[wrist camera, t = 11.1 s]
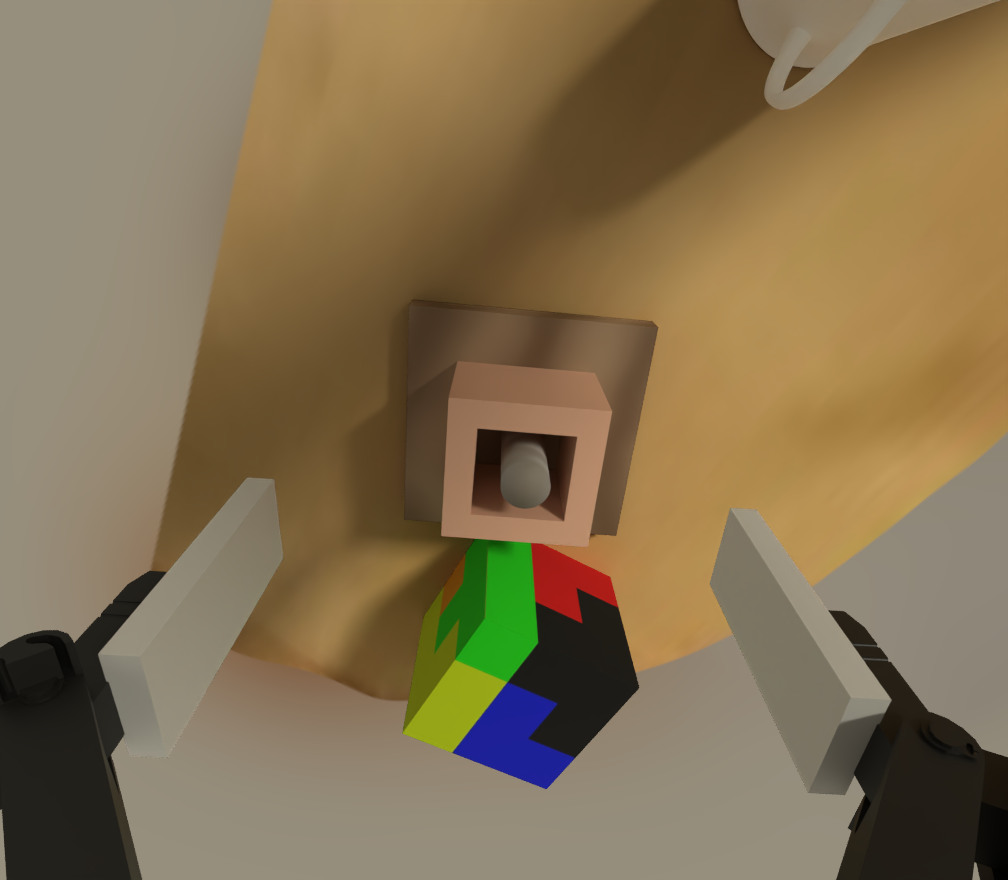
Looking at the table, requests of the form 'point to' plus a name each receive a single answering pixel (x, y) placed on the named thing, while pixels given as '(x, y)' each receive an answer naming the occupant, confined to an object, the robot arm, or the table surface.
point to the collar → (532, 409)
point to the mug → (832, 35)
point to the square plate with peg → (526, 343)
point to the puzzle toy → (519, 661)
